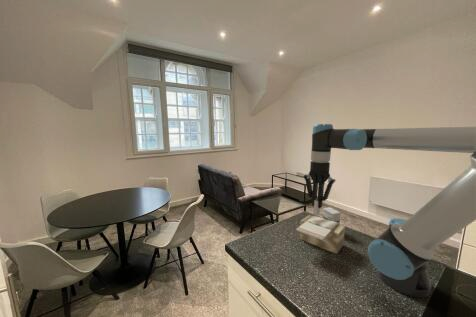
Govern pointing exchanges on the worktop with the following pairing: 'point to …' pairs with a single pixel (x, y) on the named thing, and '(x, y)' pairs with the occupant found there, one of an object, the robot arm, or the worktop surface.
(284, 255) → the worktop surface
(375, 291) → the worktop surface
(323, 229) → the stub
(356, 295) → the worktop surface
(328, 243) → the ticket block
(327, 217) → the ink box
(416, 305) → the worktop surface
